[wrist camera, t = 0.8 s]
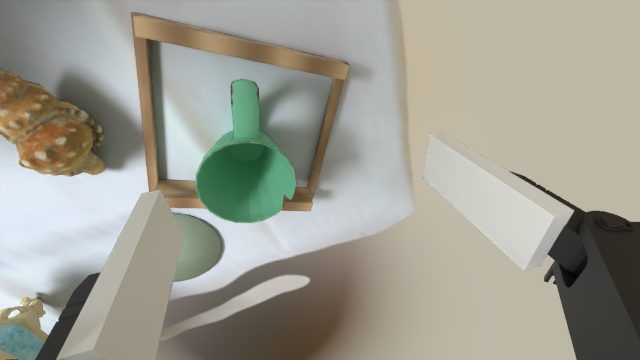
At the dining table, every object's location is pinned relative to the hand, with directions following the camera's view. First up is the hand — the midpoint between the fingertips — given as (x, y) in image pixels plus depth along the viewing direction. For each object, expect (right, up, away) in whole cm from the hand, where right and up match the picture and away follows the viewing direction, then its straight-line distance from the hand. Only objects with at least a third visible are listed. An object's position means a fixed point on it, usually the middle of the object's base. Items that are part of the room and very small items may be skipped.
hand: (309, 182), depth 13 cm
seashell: (-27, +5, +18) cm, 33 cm away
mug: (-9, +7, +20) cm, 23 cm away
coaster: (-22, -10, +27) cm, 37 cm away
